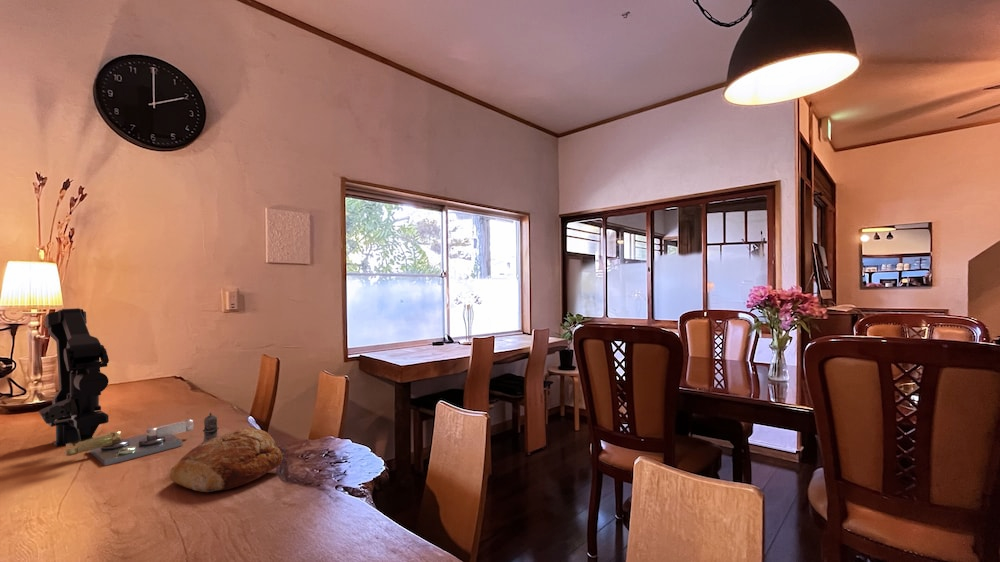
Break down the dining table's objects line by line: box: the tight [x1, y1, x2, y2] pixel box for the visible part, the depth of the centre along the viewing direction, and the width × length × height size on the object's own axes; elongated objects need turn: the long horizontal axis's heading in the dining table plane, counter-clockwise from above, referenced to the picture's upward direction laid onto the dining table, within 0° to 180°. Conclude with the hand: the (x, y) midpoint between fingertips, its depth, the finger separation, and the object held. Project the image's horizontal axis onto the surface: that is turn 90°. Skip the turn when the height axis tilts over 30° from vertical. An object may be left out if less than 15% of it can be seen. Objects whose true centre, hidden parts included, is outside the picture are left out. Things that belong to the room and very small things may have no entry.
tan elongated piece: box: [65, 430, 129, 457], centre depth 120 cm, size 13×6×4 cm, turn 151°
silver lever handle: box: [139, 418, 194, 446], centre depth 128 cm, size 13×6×4 cm, turn 144°
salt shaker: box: [197, 412, 219, 446], centre depth 118 cm, size 6×6×12 cm
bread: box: [169, 427, 284, 493], centre depth 106 cm, size 20×18×10 cm
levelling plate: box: [89, 433, 184, 467], centre depth 124 cm, size 16×17×2 cm
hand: (84, 445), depth 119 cm, fingers closed
